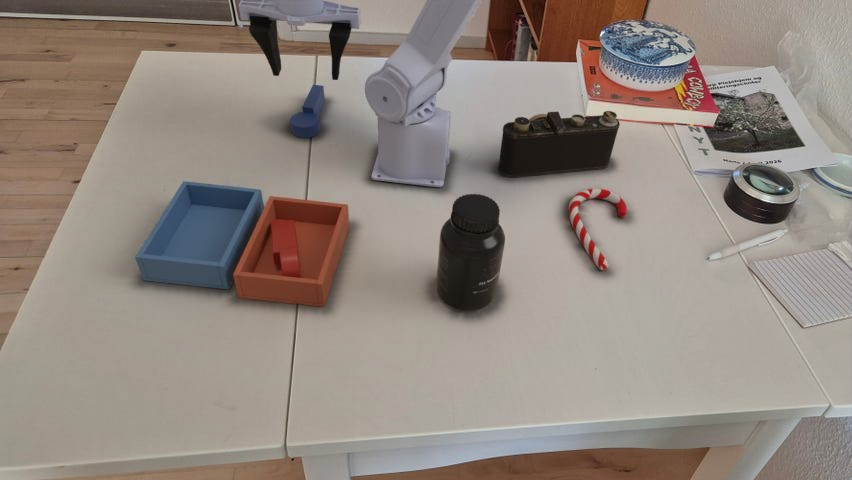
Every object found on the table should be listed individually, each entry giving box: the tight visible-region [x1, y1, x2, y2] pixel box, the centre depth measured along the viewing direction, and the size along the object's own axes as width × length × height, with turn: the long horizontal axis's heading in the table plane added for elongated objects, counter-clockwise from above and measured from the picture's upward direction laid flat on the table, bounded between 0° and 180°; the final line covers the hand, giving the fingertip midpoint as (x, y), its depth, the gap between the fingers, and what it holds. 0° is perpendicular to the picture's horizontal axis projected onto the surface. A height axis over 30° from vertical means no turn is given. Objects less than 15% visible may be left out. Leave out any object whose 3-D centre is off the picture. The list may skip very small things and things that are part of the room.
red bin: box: [233, 195, 350, 308], centre depth 75 cm, size 9×13×4 cm
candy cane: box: [568, 188, 628, 271], centre depth 84 cm, size 8×1×15 cm
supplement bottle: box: [435, 193, 506, 312], centre depth 71 cm, size 7×7×12 cm
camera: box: [497, 110, 621, 179], centre depth 92 cm, size 16×7×8 cm, turn 106°
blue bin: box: [134, 180, 265, 290], centre depth 75 cm, size 9×13×4 cm
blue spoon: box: [289, 84, 326, 139], centre depth 96 cm, size 10×4×3 cm, turn 176°
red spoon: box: [271, 220, 301, 278], centre depth 74 cm, size 10×4×3 cm
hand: (306, 74), depth 89 cm, fingers open, 7 cm apart
